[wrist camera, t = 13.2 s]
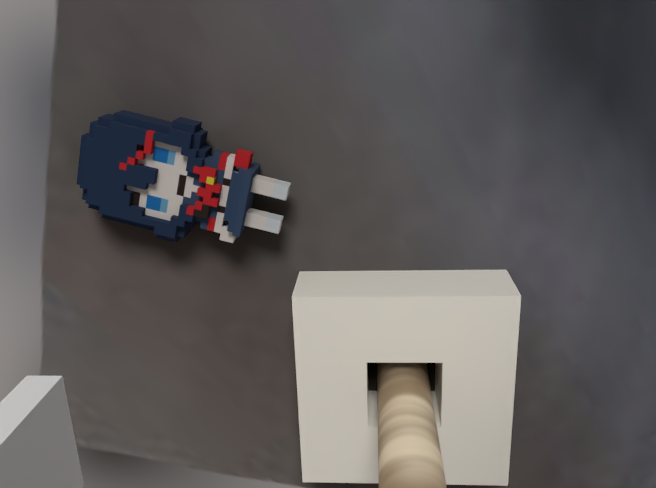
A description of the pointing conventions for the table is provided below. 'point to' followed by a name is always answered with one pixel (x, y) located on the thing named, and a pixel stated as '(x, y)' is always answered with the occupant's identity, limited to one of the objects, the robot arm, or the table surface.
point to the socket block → (406, 347)
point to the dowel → (407, 428)
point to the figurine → (172, 178)
